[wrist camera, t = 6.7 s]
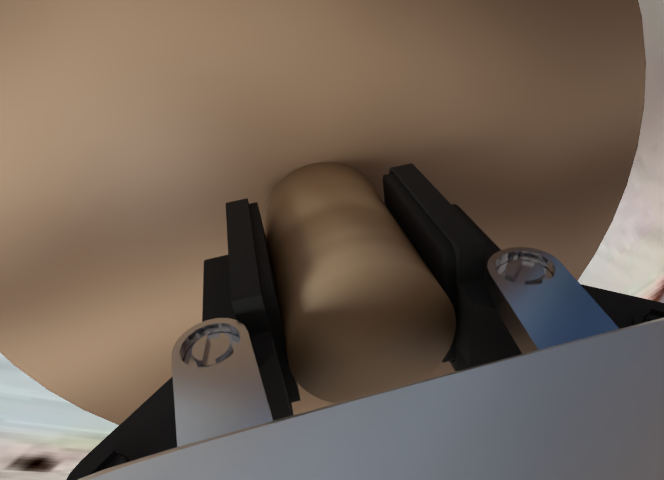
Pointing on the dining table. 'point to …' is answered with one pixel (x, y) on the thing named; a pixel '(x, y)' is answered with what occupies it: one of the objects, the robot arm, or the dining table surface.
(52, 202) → the lid
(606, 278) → the dining table surface
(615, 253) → the dining table surface
